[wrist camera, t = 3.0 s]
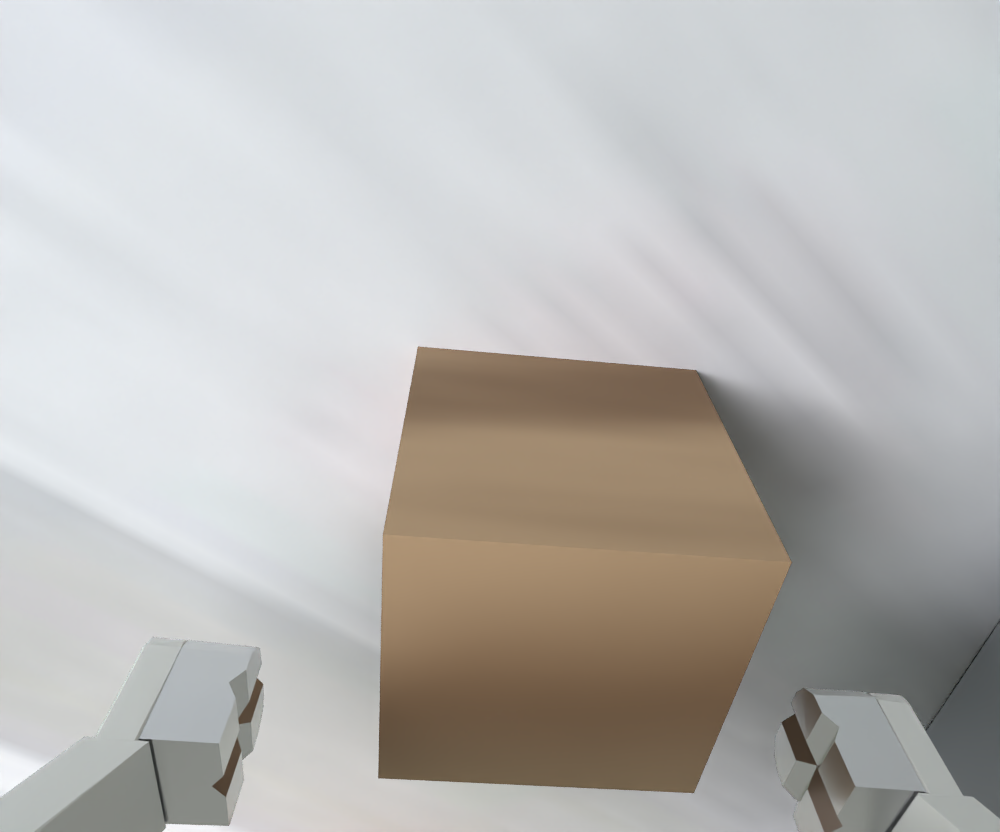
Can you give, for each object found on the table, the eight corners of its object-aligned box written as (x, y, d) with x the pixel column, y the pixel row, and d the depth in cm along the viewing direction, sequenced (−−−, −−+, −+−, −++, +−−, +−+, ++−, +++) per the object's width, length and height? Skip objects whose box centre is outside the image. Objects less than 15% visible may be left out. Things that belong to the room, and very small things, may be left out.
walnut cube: (418, 344, 13) (382, 534, 9) (695, 367, 13) (792, 562, 9) (409, 554, 16) (378, 778, 11) (639, 569, 16) (693, 792, 12)
